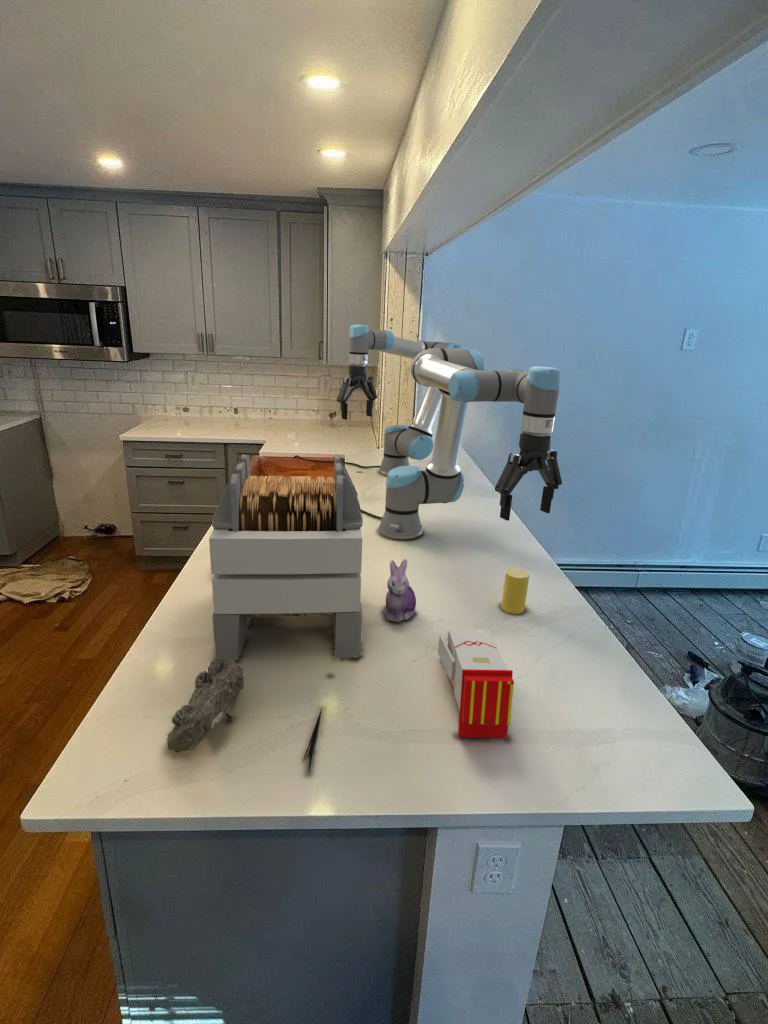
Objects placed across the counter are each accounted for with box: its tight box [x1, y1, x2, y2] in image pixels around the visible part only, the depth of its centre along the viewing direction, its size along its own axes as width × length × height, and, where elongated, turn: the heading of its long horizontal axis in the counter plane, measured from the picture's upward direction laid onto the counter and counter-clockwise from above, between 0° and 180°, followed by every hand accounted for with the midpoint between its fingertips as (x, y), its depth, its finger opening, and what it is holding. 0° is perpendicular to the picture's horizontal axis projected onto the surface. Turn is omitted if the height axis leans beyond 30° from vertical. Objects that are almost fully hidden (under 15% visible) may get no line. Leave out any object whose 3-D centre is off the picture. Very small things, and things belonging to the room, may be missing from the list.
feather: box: [301, 673, 332, 771], centre depth 108 cm, size 2×28×2 cm
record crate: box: [208, 453, 364, 661], centre depth 135 cm, size 34×33×41 cm
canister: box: [500, 567, 530, 615], centre depth 151 cm, size 6×6×10 cm
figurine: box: [384, 558, 417, 623], centre depth 145 cm, size 9×10×15 cm
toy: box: [437, 628, 515, 738], centre depth 117 cm, size 12×13×30 cm
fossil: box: [166, 659, 245, 754], centre depth 106 cm, size 22×10×15 cm
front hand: (525, 515), depth 144 cm, fingers open, 13 cm apart
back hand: (356, 417), depth 235 cm, fingers open, 13 cm apart
